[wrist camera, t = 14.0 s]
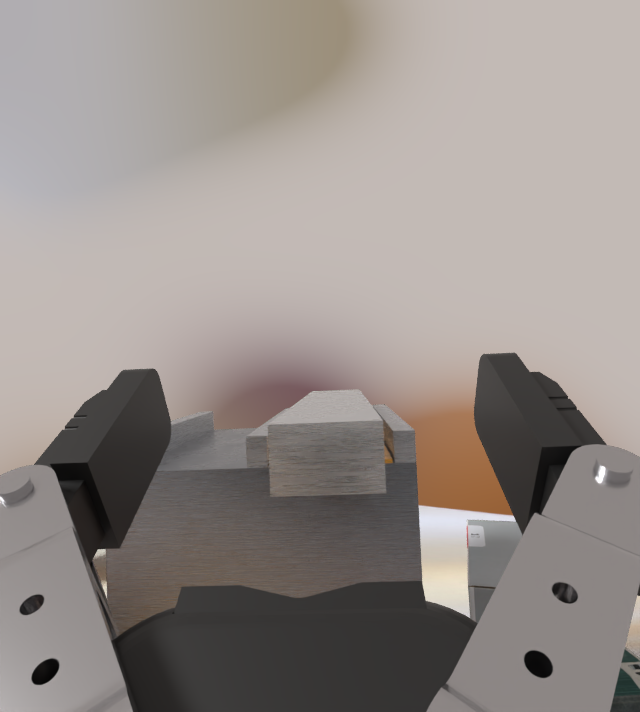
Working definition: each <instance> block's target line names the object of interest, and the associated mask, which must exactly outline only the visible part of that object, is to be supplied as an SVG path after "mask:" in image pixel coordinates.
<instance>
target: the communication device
mask: <svg viewBox="0 0 640 712" xmlns="http://www.w3.org/2000/svg"><path fill="white" fill-rule="evenodd" d="M610 712H640V658H639V657H638V656H636V655H635V654H634V653H632V652H631V651H630V650H628V649H627V648H626V647H625V649H624V653H623V658H622V662H621V666H620V671H619V675H618V679H617V684H616V688H615V692H614V696H613V701H612V705H611V709H610Z"/></svg>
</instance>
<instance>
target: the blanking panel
mask: <svg viewBox="0 0 640 712" xmlns="http://www.w3.org/2000/svg"><path fill="white" fill-rule="evenodd" d="M268 449H269V474H270V497H286V496H318V495H349V494H381V493H386V476H385V455H384V434H383V420H382V418H381V417H380V416H379V415H378V413H377V412H376V411H375V409H374V408H373V407H372V405H371V404H370V403H369V402H368V400H367V399H366V398H365V396H364V395H363V394H362V392H361V391H360V390H335V391H313V392H311V393H310V394H308V395H307V396H306V397H304V398H303V399H301V400H300V401H299V402H297V403H296V404H295V405H293V406H292V407H291V408H289V409H288V410H287V411H285V412H284V413H283V414H281V415H280V416H279V417H277V418H276V419H274V420H273V421H272V422H270V423H269V424H268Z"/></svg>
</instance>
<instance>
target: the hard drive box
mask: <svg viewBox="0 0 640 712" xmlns="http://www.w3.org/2000/svg"><path fill="white" fill-rule="evenodd" d="M522 536H523V535H522V533H521V531H520V529H519V526H518V524H517V522H511V521H488V520H467V548H468V591H469V606H470V619H472V620H474V621H475V622H477V623H478V622H479V620H480V618H481V616H482V614H483V612H484V610H485V608H486V606H487V604H488V602H489V600H490V598H491V597H492V595H493V593H494V591H495V589H496V587H497V585H498V583H499V581H500V579H501V577H502V575H503V573H504V571H505V569H506V567H507V565H508V563H509V561H510V559H511V557H512V555H513V553H514V551H515V549H516V547H517V545H518V543H519V541H520V539H521V538H522Z"/></svg>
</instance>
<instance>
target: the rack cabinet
mask: <svg viewBox="0 0 640 712" xmlns="http://www.w3.org/2000/svg"><path fill="white" fill-rule="evenodd" d="M373 408H374V409H375V411H376V412H377V413H378V415H379V416H380V417H381V418H382V420H383V434H384V455H385V476H386V493H381V494H349V495H318V496H286V497H270V474H269V449H268V424H269V423H270V422H272V421H273V420H274V419H276V418H277V417H279V416H280V415H281V414H283V413H284V412H285V411H287V410H288V409H289V408H286V409H285V410H283V411H282V412H281V413H279V414H277V415H276V416H274V417H273V418H272V419H270V420H269V421H267V422H266V423H265V424H263V425H262V426H260V427H259V428H247V429H221V430H214V424H213V411H210V412H199V413H196V414H193V415H189V416H186V417H183V418H180V419H177V420H173V421H171V438H170V442H169V445H168V447H167V449H166V451H165V454H164V456H163V458H162V460H161V462H160V464H159V466H158V468H157V471H156V473H155V475H154V477H153V479H152V481H151V483H150V485H149V488H148V490H147V492H146V494H145V496H144V498H143V500H142V502H141V505H140V507H139V509H138V511H137V513H136V515H135V517H134V519H133V522H132V524H131V526H130V528H129V530H128V532H127V534H126V536H125V539H124V541H123V543H122V545H121V547H120V548H119V549H106V572H107V601H108V603H109V606H110V609H111V612H112V614H113V617H114V620H115V623H116V625H117V628H118V631H119V633H120V635H121V634H122V633H123V632H125V631H126V630H128V629H129V628H131V627H132V626H134V625H136V624H137V623H139V622H141V621H143V620H145V619H147V618H149V617H151V616H153V615H155V614H157V613H160V612H163V611H165V610H168V609H171V608H175V607H176V604H177V600H178V597H179V594H180V590H181V587H185V586H227V585H241V586H245V587H250V588H254V589H258V590H263V591H267V592H271V593H276V594H280V595H285V596H289V597H294V598H304V597H308V596H312V595H316V594H320V593H323V592H327V591H331V590H335V589H338V588H342V587H346V586H350V585H353V584H357V583H361V582H395V581H422V568H421V548H420V528H419V508H418V488H417V467H416V447H415V431H414V429H412V427H410V426H409V425H408V424H407V423H406V422H405V421H403V420H402V419H401V418H400V417H399V416H398V415H397V414H395V413H394V412H393V411H392V410H391V409H390V408H388V407H387V406H386V405H385V404H384V405H373Z"/></svg>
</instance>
